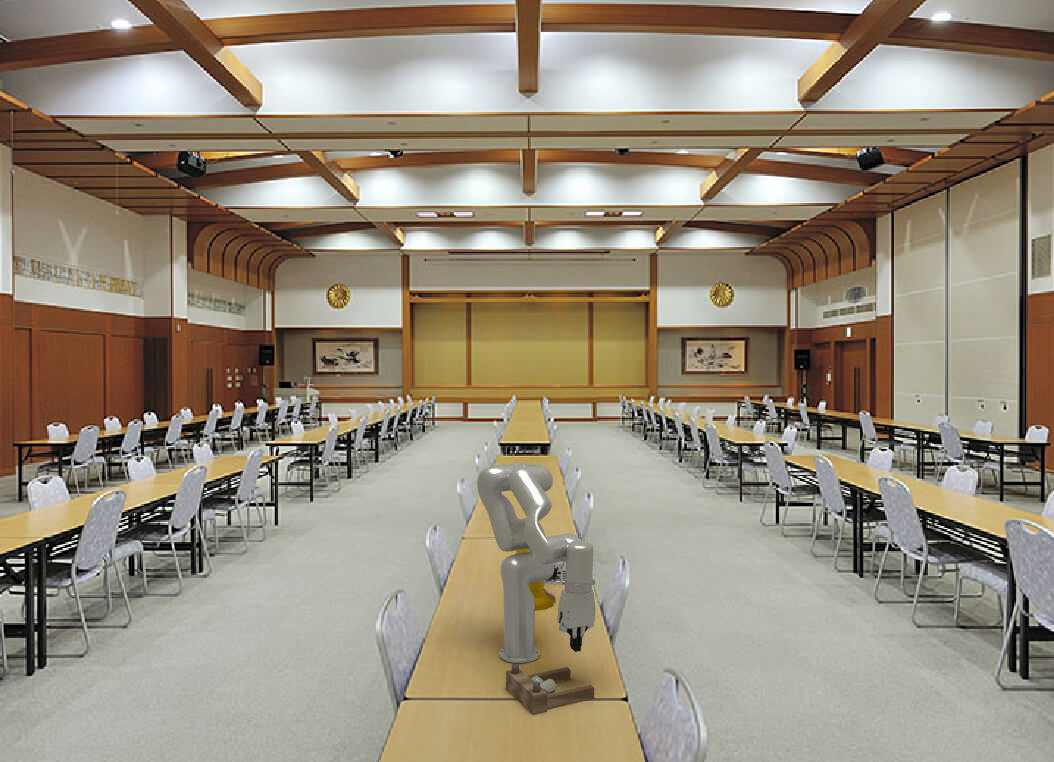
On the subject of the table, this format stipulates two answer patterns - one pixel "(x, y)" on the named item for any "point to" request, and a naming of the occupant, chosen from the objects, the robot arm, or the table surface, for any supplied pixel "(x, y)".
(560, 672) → the bench jig
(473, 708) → the table surface
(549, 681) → the pipe fitting
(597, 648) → the table surface
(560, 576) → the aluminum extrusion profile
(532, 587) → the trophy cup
